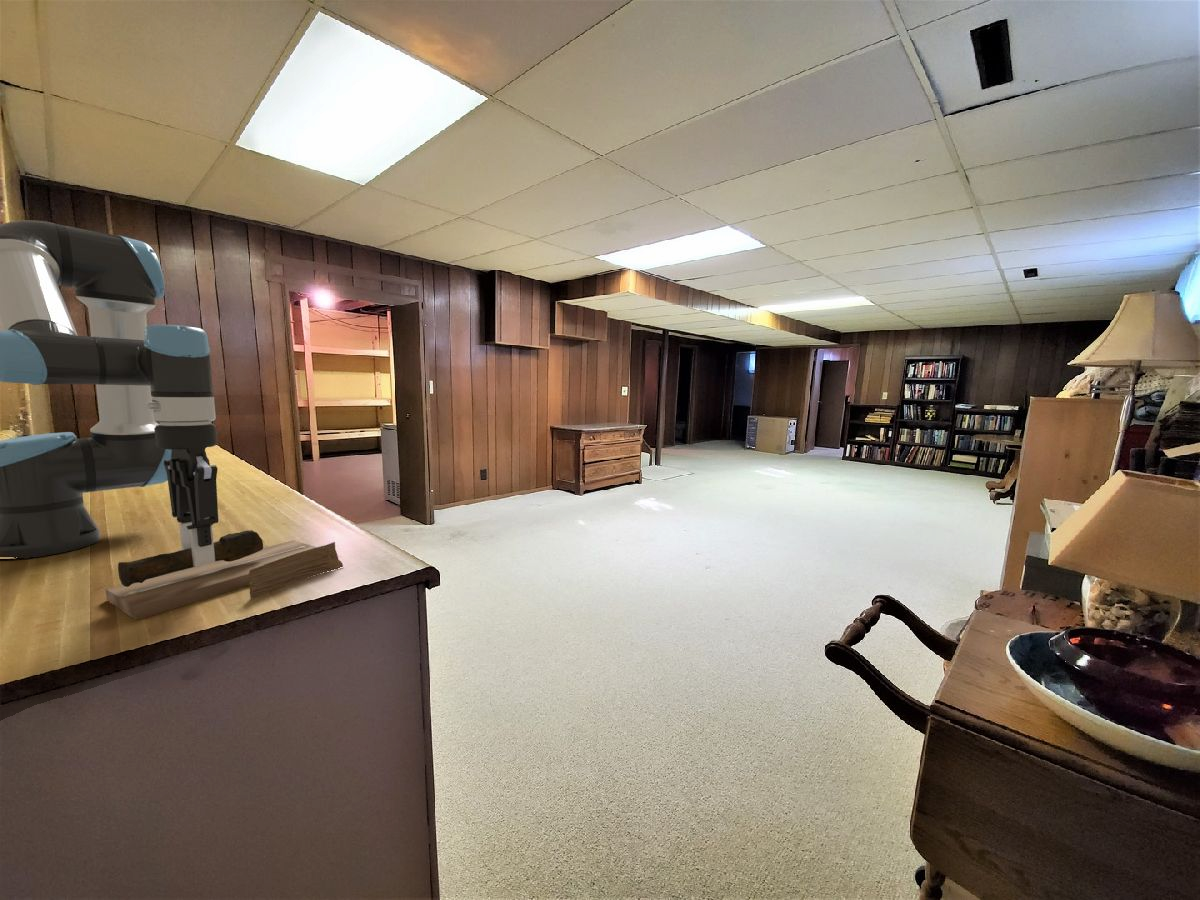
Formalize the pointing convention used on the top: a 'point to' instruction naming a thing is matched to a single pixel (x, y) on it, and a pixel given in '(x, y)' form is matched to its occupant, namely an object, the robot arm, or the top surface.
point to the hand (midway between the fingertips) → (199, 561)
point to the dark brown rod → (189, 558)
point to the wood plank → (293, 569)
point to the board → (195, 582)
